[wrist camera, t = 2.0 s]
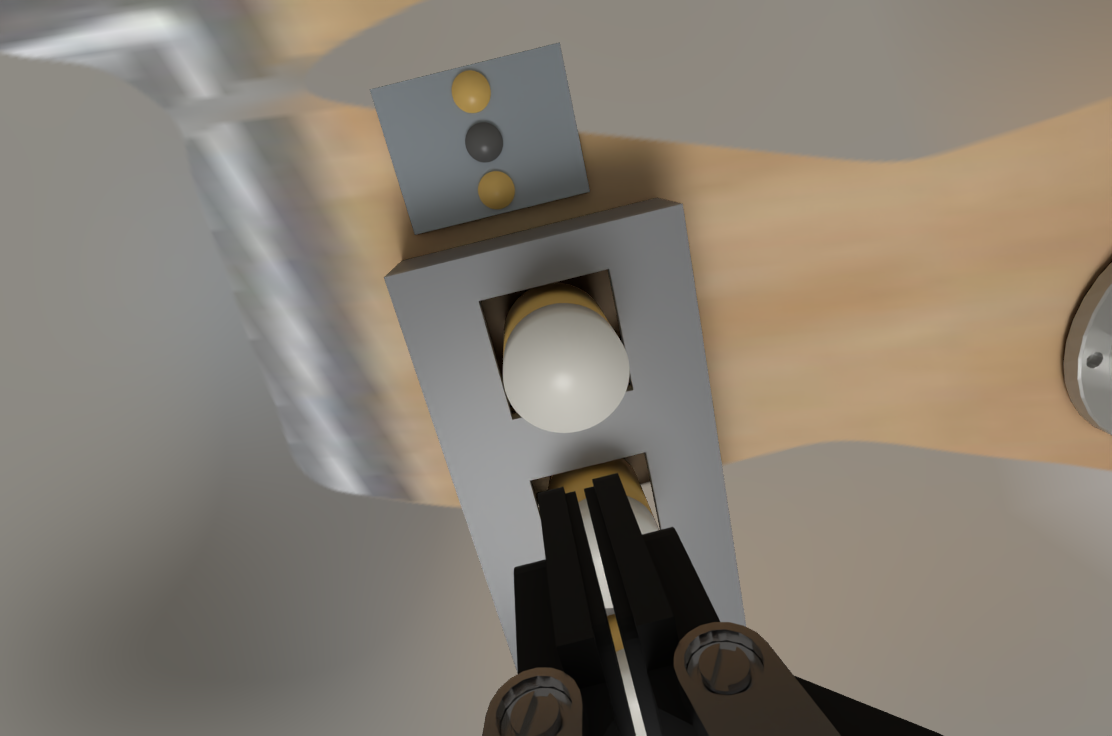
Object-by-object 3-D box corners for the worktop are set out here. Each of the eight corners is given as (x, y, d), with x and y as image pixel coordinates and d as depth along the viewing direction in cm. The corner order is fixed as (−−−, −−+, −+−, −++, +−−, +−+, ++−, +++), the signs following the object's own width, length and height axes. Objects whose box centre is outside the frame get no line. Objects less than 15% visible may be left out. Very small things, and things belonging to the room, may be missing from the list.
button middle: (629, 440, 28) (657, 503, 23) (646, 519, 30) (675, 593, 25) (537, 463, 28) (544, 530, 23) (559, 540, 30) (569, 619, 25)
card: (558, 44, 24) (559, 41, 24) (588, 191, 26) (590, 191, 26) (371, 90, 24) (368, 89, 24) (416, 233, 26) (414, 235, 26)
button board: (657, 197, 27) (682, 203, 23) (728, 630, 35) (755, 687, 32) (401, 260, 27) (383, 277, 23) (536, 677, 36) (540, 740, 32)
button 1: (594, 271, 25) (616, 299, 20) (614, 367, 27) (639, 416, 22) (492, 296, 26) (488, 331, 20) (518, 391, 27) (520, 445, 22)
